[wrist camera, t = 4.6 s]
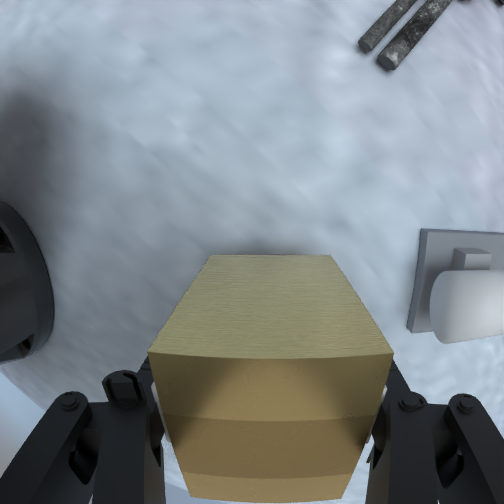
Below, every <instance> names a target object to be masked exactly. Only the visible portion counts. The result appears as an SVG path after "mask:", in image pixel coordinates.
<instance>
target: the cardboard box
mask: <svg viewBox="0 0 504 504" xmlns="http://www.w3.org/2000/svg"><path fill="white" fill-rule="evenodd" d="M147 353H148V357H149V362H150V366H151V371H152V375H153V379H154V383H155V387H156V391H157V395H158V399H159V402H160V406H161V410H162V413H163V417H164V420H165V424H166V427H167V430H168V433H169V437H170V440H171V443H172V446H173V449H174V452H175V455H176V458H177V461H178V464H179V467H180V470H181V472H182V475H183V478H184V480H185V483H186V486H187V488H188V491H189V493H190V496H191V497H196V498H204V499H212V500H222V501H234V502H253V503H292V502H311V501H323V500H333V499H341V498H342V496H343V494H344V491H345V489H346V487H347V485H348V483H349V481H350V479H351V476H352V474H353V472H354V470H355V467H356V465H357V463H358V460H359V458H360V456H361V453H362V451H363V448H364V446H365V443H366V440H367V438H368V435H369V432H370V430H371V427H372V424H373V421H374V419H375V416H376V413H377V410H378V407H379V404H380V400H381V397H382V394H383V391H384V388H385V384H386V381H387V377H388V374H389V370H390V366H391V363H392V359H393V355H394V352H393V350H392V349H391V347H390V345H389V344H388V342H387V340H386V339H385V337H384V336H383V334H382V332H381V331H380V329H379V328H378V326H377V324H376V323H375V321H374V320H373V318H372V317H371V315H370V313H369V312H368V310H367V309H366V307H365V306H364V304H363V303H362V301H361V299H360V298H359V296H358V295H357V293H356V292H355V290H354V289H353V287H352V286H351V284H350V283H349V281H348V280H347V278H346V277H345V275H344V274H343V272H342V271H341V269H340V268H339V267H338V265H337V264H336V262H335V261H334V259H333V258H332V256H331V255H211V256H210V257H209V259H208V260H207V262H206V263H205V265H204V266H203V267H202V269H201V270H200V272H199V273H198V275H197V276H196V278H195V279H194V281H193V282H192V284H191V285H190V287H189V288H188V290H187V291H186V293H185V294H184V296H183V297H182V299H181V300H180V302H179V303H178V305H177V306H176V308H175V309H174V311H173V313H172V314H171V316H170V317H169V319H168V320H167V322H166V323H165V325H164V326H163V328H162V329H161V331H160V332H159V334H158V336H157V337H156V339H155V340H154V342H153V343H152V345H151V346H150V348H149V350H148V351H147Z"/></svg>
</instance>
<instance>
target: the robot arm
mask: <svg viewBox="0 0 504 504" xmlns="http://www.w3.org/2000/svg"><path fill="white" fill-rule="evenodd" d="M52 325H53V297H52V291H51V285H50V281H49V277H48V273H47V269H46V266H45V263H44V260H43V257H42V255H41V252H40V250H39V247H38V245H37V243H36V241H35V239H34V237H33V235H32V233H31V231H30V230H29V228H28V226H27V225H26V223H25V222H24V221H23V219H22V218H21V217H20V215H19V214H18V213H17V212H16V211H15V210H14V209H13V208H11V207H10V206H9V205H7V204H5V203H3V202H1V201H0V365H1V364H4V363H8V362H12V361H16V360H19V359H23V358H26V357H27V356H29V355H31V354H32V353H33V352H35V351H36V350H37V349H38V348H39V347H41V346H42V345H43V344H44V343H45V342H46V341H47V339H48V337H49V335H50V333H51V329H52ZM102 385H103V387H104V390H105V393H106V395H107V398H108V401H109V402H92V403H89V402H88V400H87V397H86V396H85V395H84V394H82V393H80V392H75V391H71V392H66V393H64V394H61V395H60V396H59V397H57V398H56V399H55V401H54V402H53V403H52V405H51V406H50V407H49V409H48V410H47V411H46V413H45V414H44V416H43V417H42V418H41V420H40V421H39V422H38V424H37V425H36V427H35V428H34V429H33V431H32V432H31V434H30V435H29V436H28V438H27V439H26V441H25V442H24V444H23V445H22V447H21V448H20V450H19V451H18V452H17V454H16V455H15V457H14V458H13V460H12V461H11V463H10V464H9V466H8V468H7V469H6V470H5V472H4V473H3V475H2V477H1V478H0V504H88V503H89V501H90V499H91V496H92V494H93V498H92V504H166V498H165V482H164V458H163V447H162V443H161V440H162V437H163V434H164V433H165V436H166V439H167V441H168V442H171V440H170V437H169V433H168V430H167V427H166V424H165V420H164V417H163V413H162V410H161V406H160V402H159V399H158V395H157V391H156V387H155V383H154V379H153V375H152V371H151V366H150V362H149V357H148V356H147V358H146V359H145V361H144V363H143V364H142V366H141V367H140V369H139V371H138V372H137V373H135V372H133V371H128V370H121V371H116V372H113V373H111V374H109V375H108V376H106V377H105V378H104V380H103V381H102ZM371 434H372V436H373V439H374V442H375V443H374V445H373V448H372V450H371V452H370V454H369V457H368V459H367V462H366V463H369V462H370V470H369V479H368V487H367V495H366V502H365V504H438V501H439V504H504V439H503V437H502V436H501V434H500V432H499V431H498V429H497V427H496V426H495V424H494V423H493V421H492V419H491V418H490V416H489V415H488V413H487V412H486V410H485V409H484V407H483V405H482V404H481V402H480V401H479V400H478V399H477V398H476V397H474V396H472V395H469V394H465V393H464V394H457V395H454V396H453V397H452V398H451V399H450V401H449V403H448V405H443V404H429V403H427V401H426V399H425V398H424V397H423V396H422V395H420V394H418V393H416V392H412V391H410V389H409V387H408V385H407V383H406V381H405V380H404V378H403V376H402V374H401V372H400V371H399V370H398V367H397V365H396V364H395V362H394V360H393V359H392V363H391V366H390V370H389V374H388V377H387V381H386V384H385V388H384V391H383V394H382V397H381V400H380V404H379V407H378V410H377V413H376V416H375V419H374V421H373V424H372V427H371V430H370V432H369V435H368V438H367V440H366V443H365V444H367V443H368V442H369V439H370V437H371Z"/></svg>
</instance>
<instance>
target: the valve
mask: <svg viewBox="0 0 504 504" xmlns="http://www.w3.org/2000/svg"><path fill="white" fill-rule="evenodd" d="M416 1H417V0H396V1H395V2H394V3H393V5H392V6H391V7H390V8H389V9H388V10H387V11H386V12H385V13H384V14H383V15H382V16H381V17H380V18H379V19H378V20H377V21H376V22H375V23H374V24H373V25H372V27H371V28H370V29H369V30H368V31H367V32H366V33H365V34H364V35H363V36H362V37H361V38H360V40H359V41H358V43H359V45H360V46H361V47H362V48H363V49H365V50H367V51H371V50H372V49H373V48H374V47H375V46H376V45H377V44H378V43H379V41H380V40H381V39H382V38H383V37H384V36H385V35H386V34H387V32H388V31H389V30H390V29H391V28H392V27H393V26H394V25H395V24H396V23H397V21H398V20H399V19H400V18H401V17H402V16H403V15H404V14H405V13H406V12H407V11H408V9H409V8H410V7H411V6H412V5H413V4H414V3H415V2H416ZM452 1H453V0H427V1H426V2H425V4H424V5H423V6H422V7H421V8H420V9H419V10H418V11H417V12H416V13H415V15H414V16H413V17H412V18H411V19H410V20H409V21H408V22H407V24H406V25H405V26H404V27H403V28H402V29H401V30H400V31H399V32H398V34H397V35H396V36H395V37H394V38H393V39H392V40H391V42H390V43H389V44H388V45H387V46H386V47H385V48H384V50H383V51H382V52H381V53H380V54H379V55H378V60H379V62H380V63H381V64H382V65H383V66H384V67H385V68H387V69H389V70H395V69H396V68H397V67H398V66H399V64H400V63H401V62H402V61H403V59H404V58H405V57H406V56H407V55H408V53H409V52H410V51H411V50H412V49H413V47H414V46H415V45H416V44H417V43H418V41H419V40H420V39H421V38H422V37H423V35H424V34H425V33H426V32H427V31H428V29H429V28H430V27H431V26H432V24H433V23H434V22H435V21H436V20H437V18H438V17H439V16H440V15H441V14H442V12H443V11H444V10H445V9H446V8H447V6H448V5H449V4H450V3H451V2H452ZM500 1H501V2H502V3H503V4H504V0H500Z"/></svg>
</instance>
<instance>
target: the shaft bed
mask: <svg viewBox="0 0 504 504" xmlns="http://www.w3.org/2000/svg"><path fill="white" fill-rule="evenodd" d="M407 328H408V329H409V331H410V332H411V333H422V332H432V331H433V332H434V334H435V336H436V337H437V339H438V340H439V341H440V342H442V343H444V344H449V343H456V342H462V341H469V340H475V339H481V338H487V337H492V336H497V335H502V334H504V233H494V232H477V231H458V230H438V229H421V236H420V246H419V255H418V263H417V271H416V277H415V284H414V290H413V296H412V302H411V307H410V313H409V318H408V322H407Z"/></svg>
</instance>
